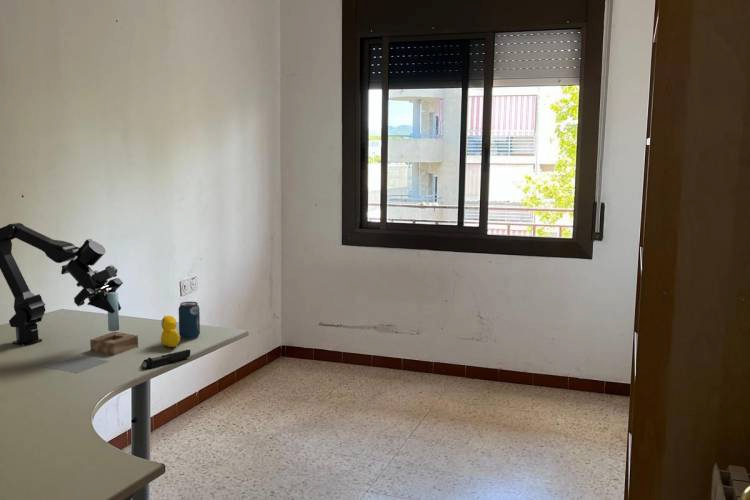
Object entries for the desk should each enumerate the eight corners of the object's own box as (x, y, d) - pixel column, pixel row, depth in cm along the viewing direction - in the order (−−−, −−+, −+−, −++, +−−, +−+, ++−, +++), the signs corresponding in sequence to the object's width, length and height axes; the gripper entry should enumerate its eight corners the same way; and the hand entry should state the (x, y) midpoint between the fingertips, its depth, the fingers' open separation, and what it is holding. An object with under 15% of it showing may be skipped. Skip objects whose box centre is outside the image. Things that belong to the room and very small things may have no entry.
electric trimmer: (193, 360, 196) (193, 350, 196) (146, 371, 185) (146, 360, 184) (186, 357, 199) (186, 347, 198) (140, 368, 187) (140, 357, 187)
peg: (107, 331, 200) (105, 294, 199) (110, 328, 203) (108, 292, 202) (117, 331, 201) (116, 294, 199) (120, 328, 204) (119, 292, 202)
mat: (41, 367, 185) (41, 366, 185) (75, 355, 196) (75, 354, 196) (77, 374, 180) (76, 373, 180) (109, 362, 191) (109, 361, 191)
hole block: (90, 351, 200) (90, 339, 200) (114, 343, 210) (114, 331, 209) (114, 356, 197) (114, 343, 196) (138, 347, 206) (137, 335, 205)
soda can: (202, 338, 218) (202, 304, 216) (182, 341, 214) (181, 306, 212) (196, 333, 223) (195, 300, 221) (176, 336, 219) (175, 302, 218)
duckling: (157, 342, 211) (156, 313, 210) (173, 340, 214) (172, 311, 213) (166, 351, 202) (165, 321, 201) (183, 349, 205) (182, 319, 204)
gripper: (81, 263, 190) (115, 301, 190) (116, 254, 208) (148, 288, 208) (58, 287, 193) (93, 324, 192) (95, 276, 211) (127, 310, 211)
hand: (116, 311), depth 201 cm, fingers closed on peg, 3 cm apart
